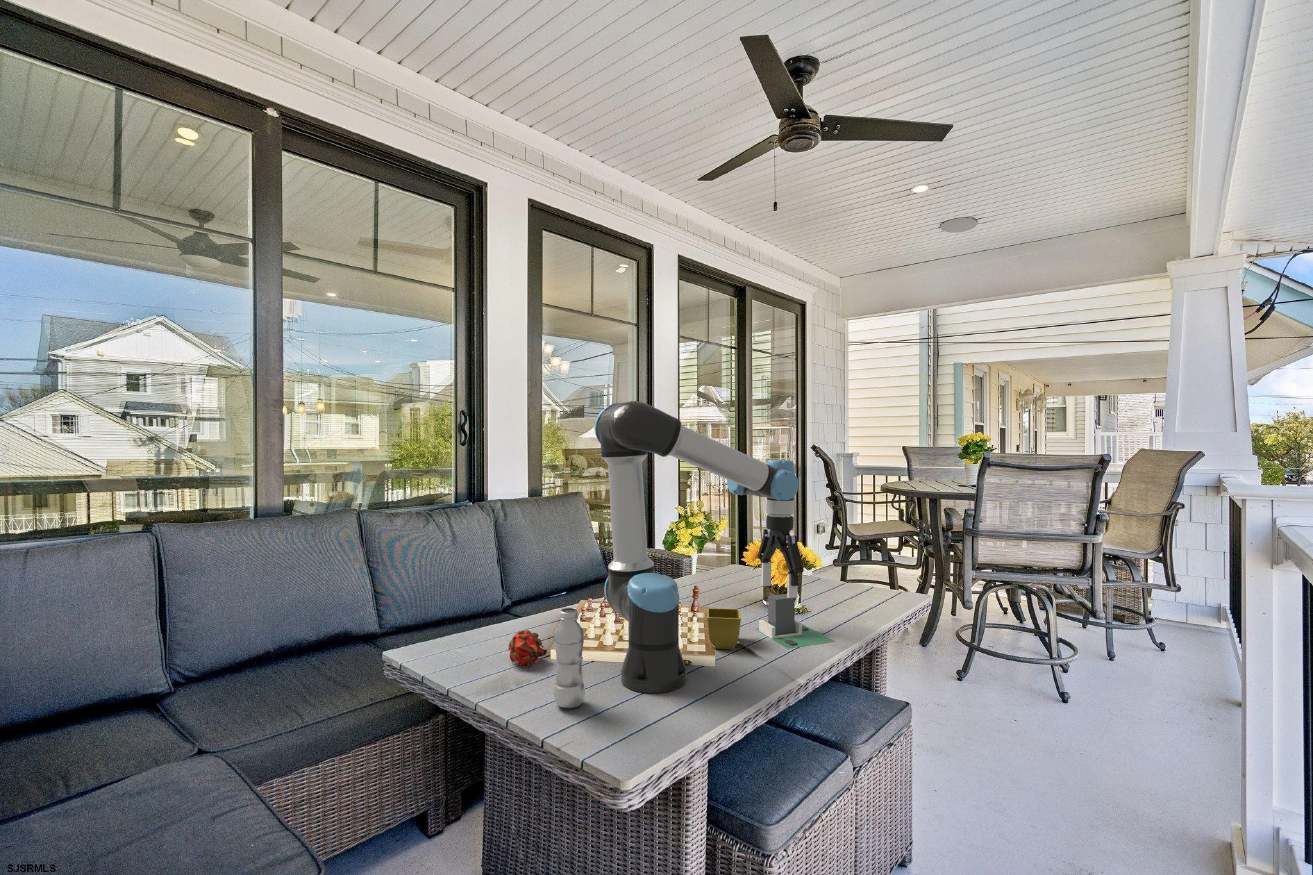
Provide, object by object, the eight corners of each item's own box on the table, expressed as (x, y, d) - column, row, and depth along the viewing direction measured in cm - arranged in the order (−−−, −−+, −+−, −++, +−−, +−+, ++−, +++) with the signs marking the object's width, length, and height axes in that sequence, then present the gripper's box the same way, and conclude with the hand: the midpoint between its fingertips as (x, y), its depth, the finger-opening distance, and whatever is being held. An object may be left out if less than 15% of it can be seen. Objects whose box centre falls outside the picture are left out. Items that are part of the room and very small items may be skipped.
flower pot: (739, 641, 166) (739, 608, 166) (741, 652, 158) (741, 618, 158) (707, 640, 167) (707, 607, 167) (707, 651, 158) (706, 617, 158)
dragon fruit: (519, 660, 158) (537, 682, 148) (494, 647, 153) (510, 669, 143) (539, 631, 159) (557, 651, 149) (514, 617, 155) (532, 637, 145)
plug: (775, 636, 167) (775, 599, 167) (768, 631, 170) (768, 596, 170) (796, 633, 169) (796, 597, 169) (788, 628, 173) (788, 593, 173)
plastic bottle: (558, 714, 123) (558, 616, 123) (550, 701, 130) (550, 607, 129) (589, 708, 126) (588, 612, 126) (579, 696, 132) (579, 604, 132)
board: (787, 653, 157) (787, 636, 157) (754, 632, 173) (754, 618, 173) (836, 645, 162) (836, 630, 162) (799, 626, 178) (799, 612, 178)
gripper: (818, 520, 159) (816, 601, 159) (768, 509, 182) (767, 580, 182) (793, 521, 156) (792, 604, 156) (746, 510, 180) (745, 581, 180)
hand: (778, 591), depth 169 cm, fingers open, 13 cm apart
